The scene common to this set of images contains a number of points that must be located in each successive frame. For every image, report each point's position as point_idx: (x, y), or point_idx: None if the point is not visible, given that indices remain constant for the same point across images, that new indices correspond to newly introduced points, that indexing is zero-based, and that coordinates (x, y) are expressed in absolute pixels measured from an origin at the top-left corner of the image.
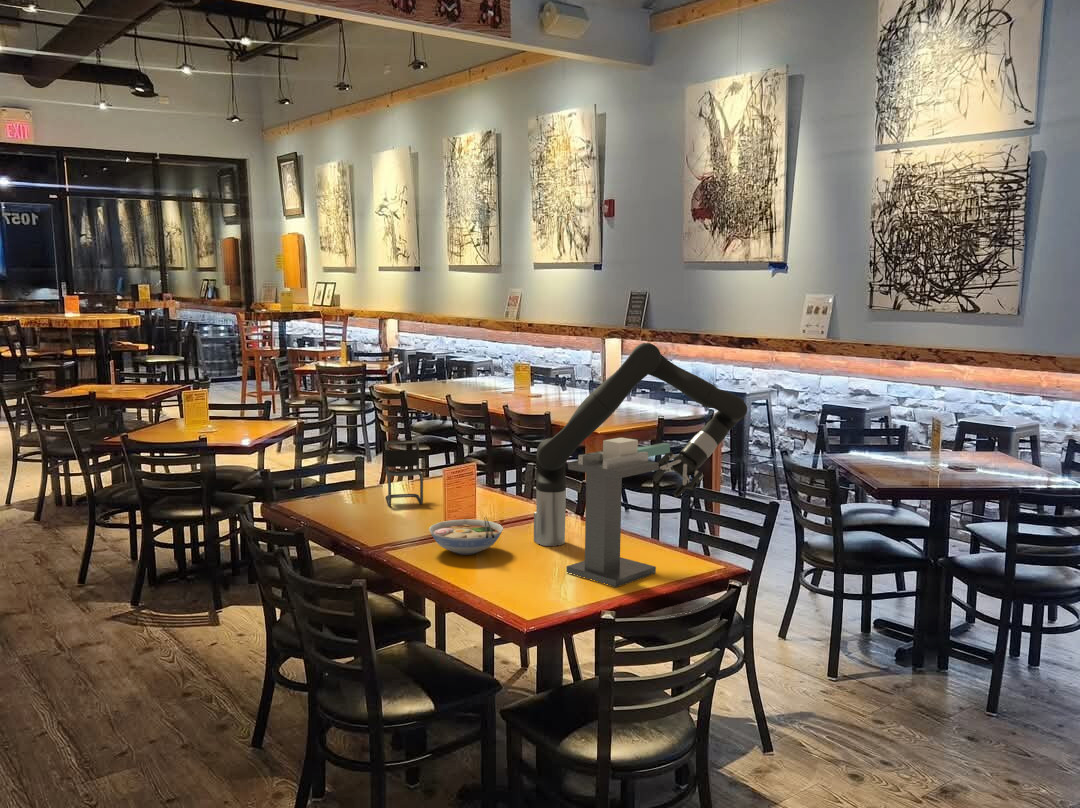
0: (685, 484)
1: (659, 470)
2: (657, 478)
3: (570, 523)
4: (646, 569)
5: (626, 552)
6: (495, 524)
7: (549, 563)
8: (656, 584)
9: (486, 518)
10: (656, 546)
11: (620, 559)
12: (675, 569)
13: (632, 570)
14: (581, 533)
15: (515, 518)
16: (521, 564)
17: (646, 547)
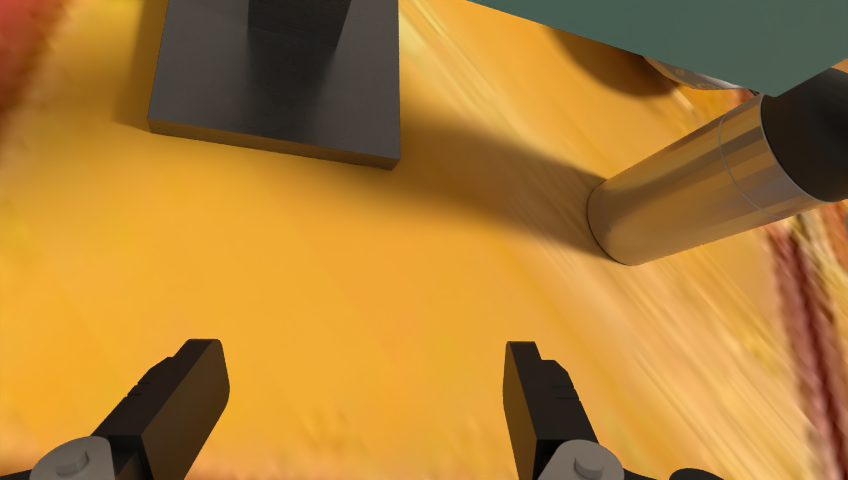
0: (48, 459)
1: (579, 441)
2: (510, 390)
3: (754, 457)
4: (160, 68)
5: (407, 297)
6: (713, 78)
7: (482, 56)
8: (72, 22)
9: (756, 94)
10: (378, 469)
11: (320, 126)
12: (105, 227)
13: (200, 34)
14: (654, 382)
15: (838, 363)
16: (517, 18)
17: (398, 418)
